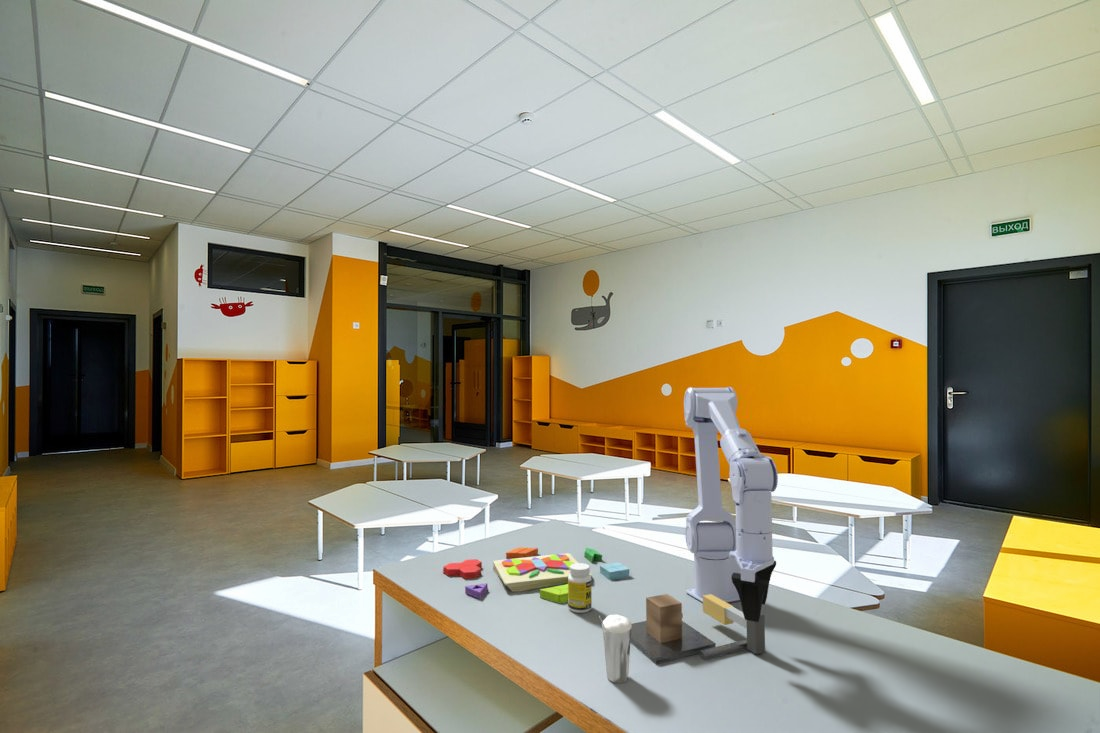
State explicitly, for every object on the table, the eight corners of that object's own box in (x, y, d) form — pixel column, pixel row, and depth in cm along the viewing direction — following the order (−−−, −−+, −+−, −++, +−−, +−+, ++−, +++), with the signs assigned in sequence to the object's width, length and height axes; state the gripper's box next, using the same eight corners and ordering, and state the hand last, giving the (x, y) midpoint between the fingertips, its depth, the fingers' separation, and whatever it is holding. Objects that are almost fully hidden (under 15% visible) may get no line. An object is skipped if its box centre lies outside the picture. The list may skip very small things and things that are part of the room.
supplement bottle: (590, 614, 105) (589, 571, 105) (566, 612, 106) (565, 569, 106) (593, 604, 110) (592, 562, 110) (570, 602, 111) (569, 561, 111)
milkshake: (592, 674, 84) (592, 609, 84) (622, 667, 86) (621, 603, 86) (607, 690, 79) (606, 621, 80) (638, 681, 82) (637, 615, 82)
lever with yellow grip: (711, 618, 102) (711, 586, 102) (765, 651, 90) (764, 614, 90) (703, 620, 101) (702, 587, 101) (755, 653, 89) (755, 616, 89)
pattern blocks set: (568, 545, 151) (568, 534, 151) (648, 583, 122) (648, 569, 123) (437, 571, 131) (437, 558, 132) (496, 623, 103) (496, 607, 103)
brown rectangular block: (673, 626, 98) (672, 592, 98) (687, 636, 94) (687, 602, 94) (646, 631, 96) (646, 597, 96) (660, 642, 91) (660, 607, 92)
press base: (707, 613, 105) (707, 607, 105) (760, 645, 92) (760, 639, 92) (618, 632, 98) (618, 626, 98) (662, 670, 85) (662, 663, 85)
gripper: (736, 517, 99) (738, 591, 98) (720, 537, 86) (721, 623, 86) (778, 521, 95) (780, 599, 95) (767, 543, 83) (769, 632, 82)
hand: (755, 611), depth 90 cm, fingers open, 7 cm apart
